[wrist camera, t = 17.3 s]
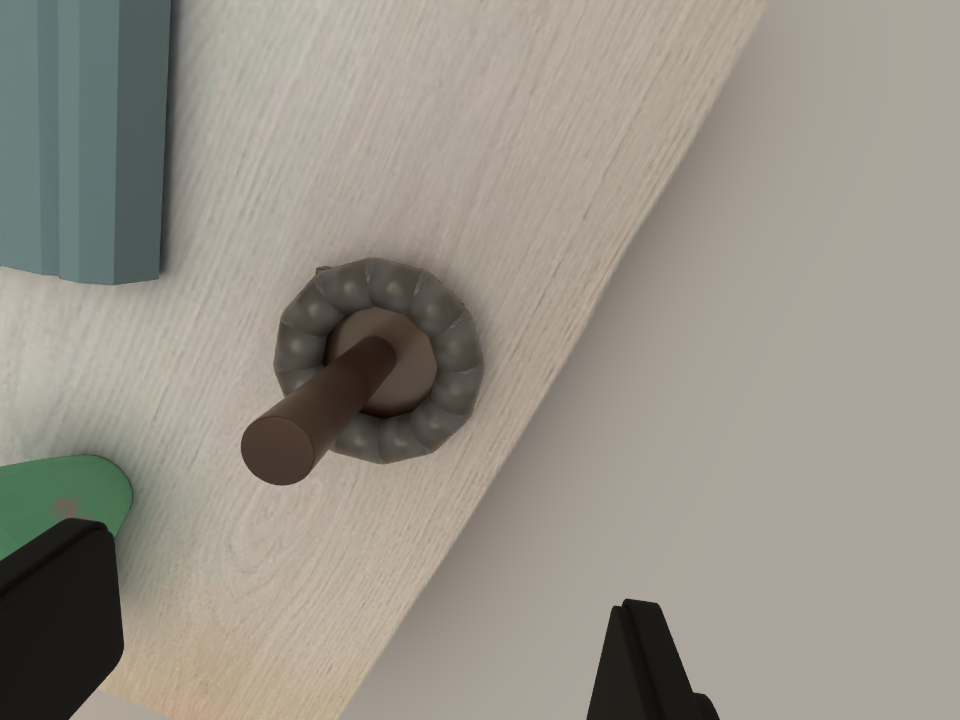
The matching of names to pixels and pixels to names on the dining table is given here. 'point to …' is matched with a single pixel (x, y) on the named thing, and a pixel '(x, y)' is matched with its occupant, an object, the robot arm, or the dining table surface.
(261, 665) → the dining table surface
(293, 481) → the post
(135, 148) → the book
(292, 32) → the dining table surface
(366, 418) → the segmented grey ring
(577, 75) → the dining table surface
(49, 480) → the mug
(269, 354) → the dining table surface
